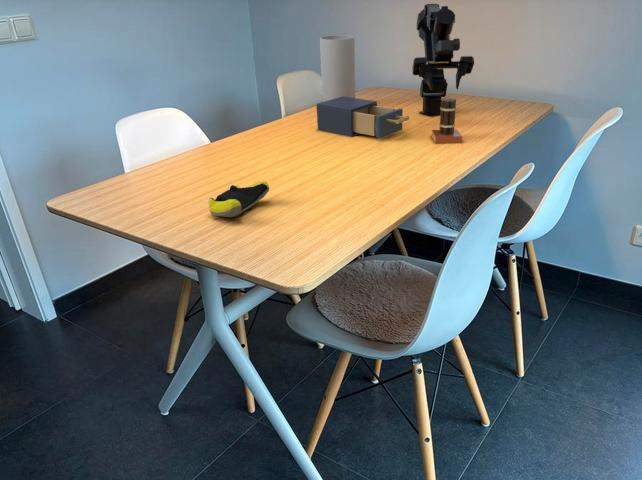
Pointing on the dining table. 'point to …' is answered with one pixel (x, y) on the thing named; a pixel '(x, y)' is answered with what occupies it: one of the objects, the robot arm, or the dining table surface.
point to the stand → (446, 137)
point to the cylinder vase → (337, 66)
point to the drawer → (378, 121)
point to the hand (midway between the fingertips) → (444, 89)
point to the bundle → (447, 116)
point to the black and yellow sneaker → (237, 199)
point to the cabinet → (340, 114)
